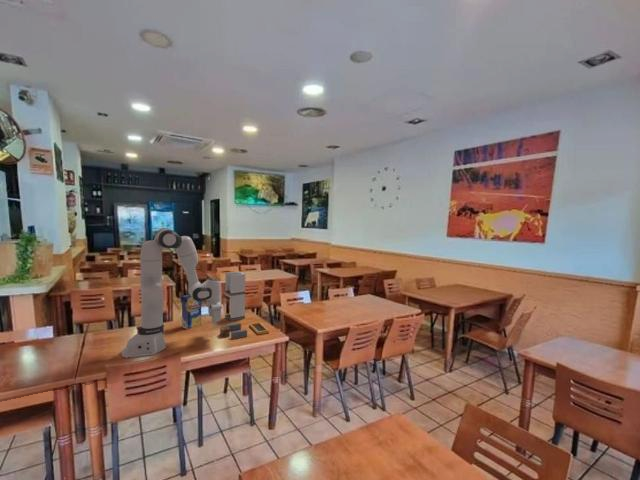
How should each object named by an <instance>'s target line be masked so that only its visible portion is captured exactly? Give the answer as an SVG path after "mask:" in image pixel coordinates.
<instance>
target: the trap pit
mask: <svg viewBox="0 0 640 480" xmlns="http://www.w3.org/2000/svg"><path fill="white" fill-rule="evenodd" d="M248 326H249V328H250V329H251V330H252V331H253V333H255V334H256V335H257V336H261V335H267V334H269V333H270V329H268V328H267V327H266V326H265V325H264V324H263V323H262V322H260V321H258V322H252V323H249V325H248Z"/></svg>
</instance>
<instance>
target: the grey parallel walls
mask: <svg viewBox="0 0 640 480" xmlns="http://www.w3.org/2000/svg"><path fill="white" fill-rule="evenodd" d="M225 327H229V328H230V338H231V340H233V339H239V338H245V337H248V330H247V329H242V324H241V322H237V323H231V324H225Z"/></svg>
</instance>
